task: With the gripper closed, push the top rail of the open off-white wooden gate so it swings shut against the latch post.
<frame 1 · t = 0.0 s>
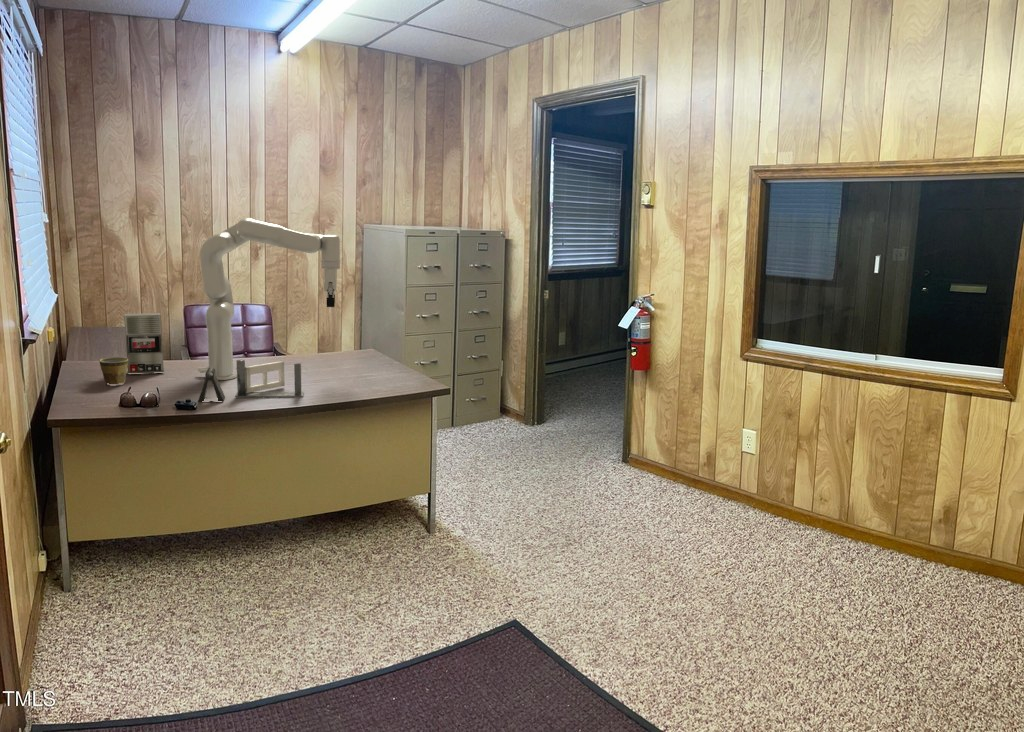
hand: (330, 305, 325), 31 cm above the table, tool pointing down, fingers open, 9 cm apart
gate frame: (241, 395, 296), on the table
ceramic cup: (113, 384, 304), on the table
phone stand: (211, 401, 288), on the table
cassette tape recorder: (146, 373, 323), on the table
gate: (264, 376, 303), point 6 cm above the table, hinge at 40.0°
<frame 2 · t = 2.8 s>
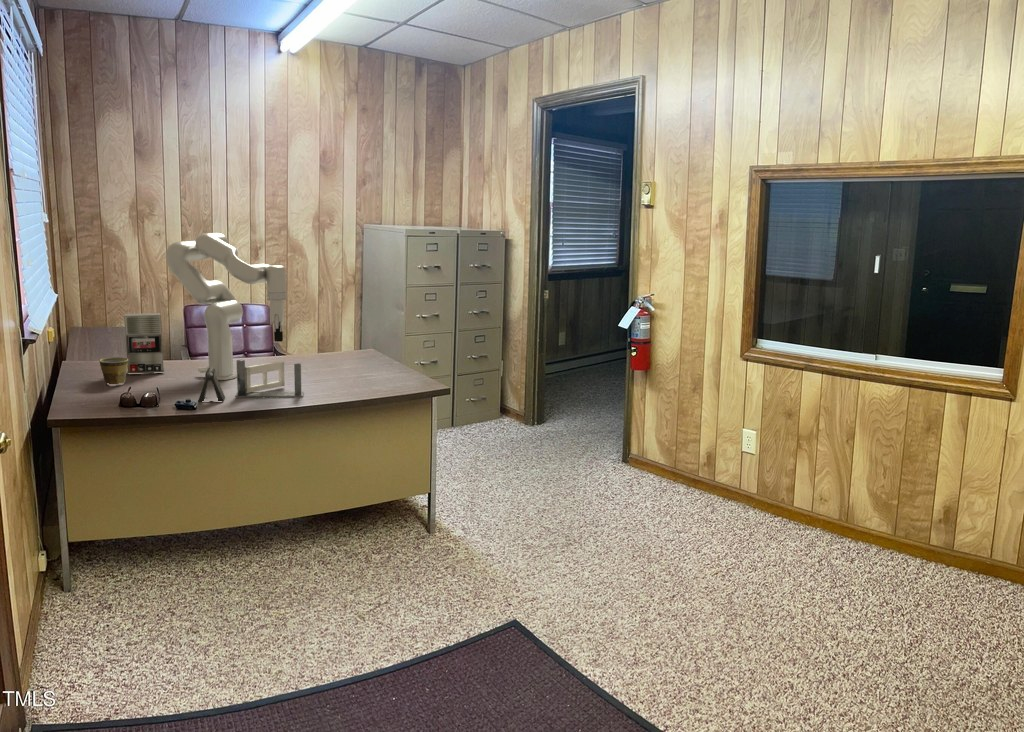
hand: (278, 341, 312), 18 cm above the table, tool pointing down, fingers closed
nothing on the table moved.
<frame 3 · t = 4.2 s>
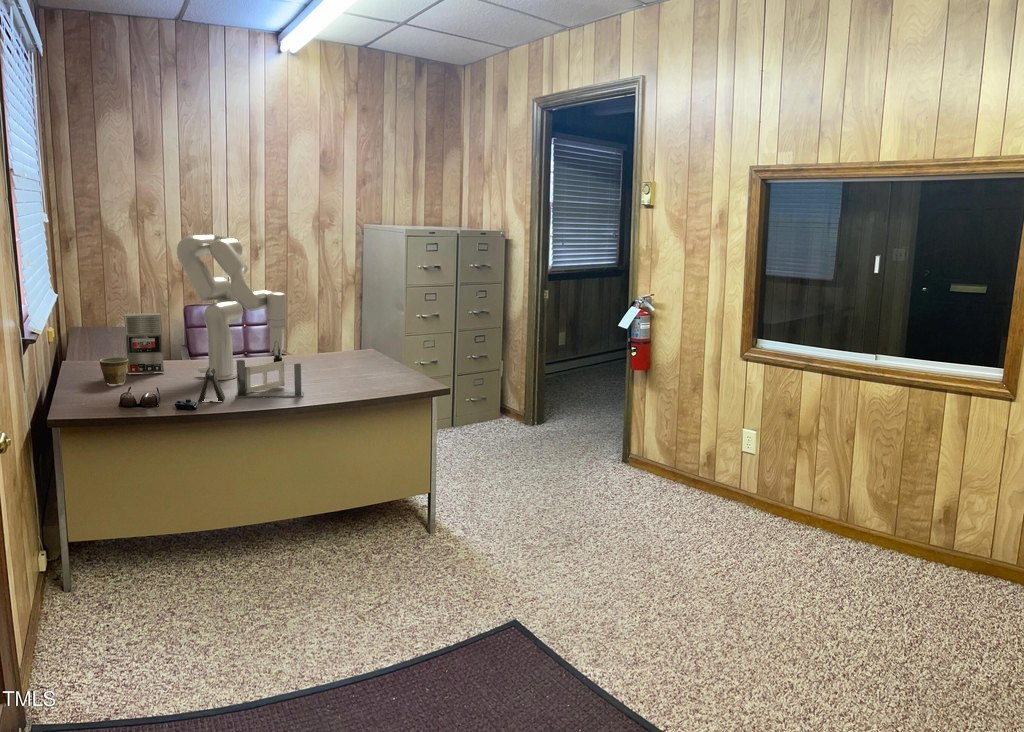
hand: (278, 367, 314), 7 cm above the table, tool pointing down, fingers closed
nothing on the table moved.
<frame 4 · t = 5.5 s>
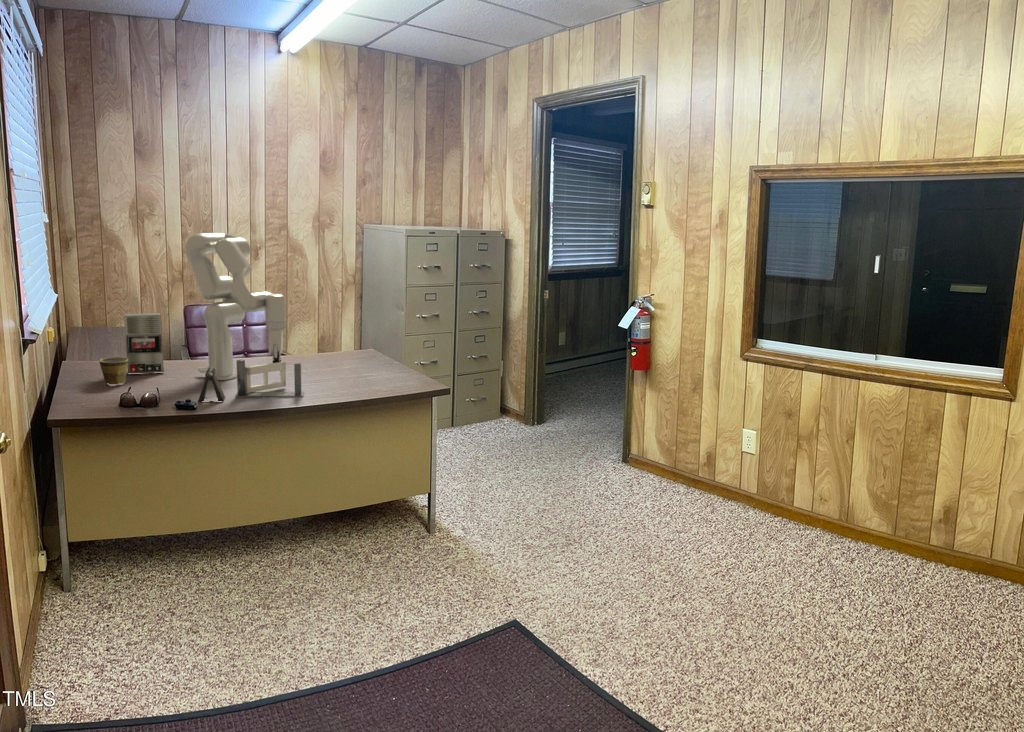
hand: (277, 370, 309), 7 cm above the table, tool pointing down, fingers closed
gate: (265, 376, 302), point 6 cm above the table, hinge at 36.9°
everything else where it was.
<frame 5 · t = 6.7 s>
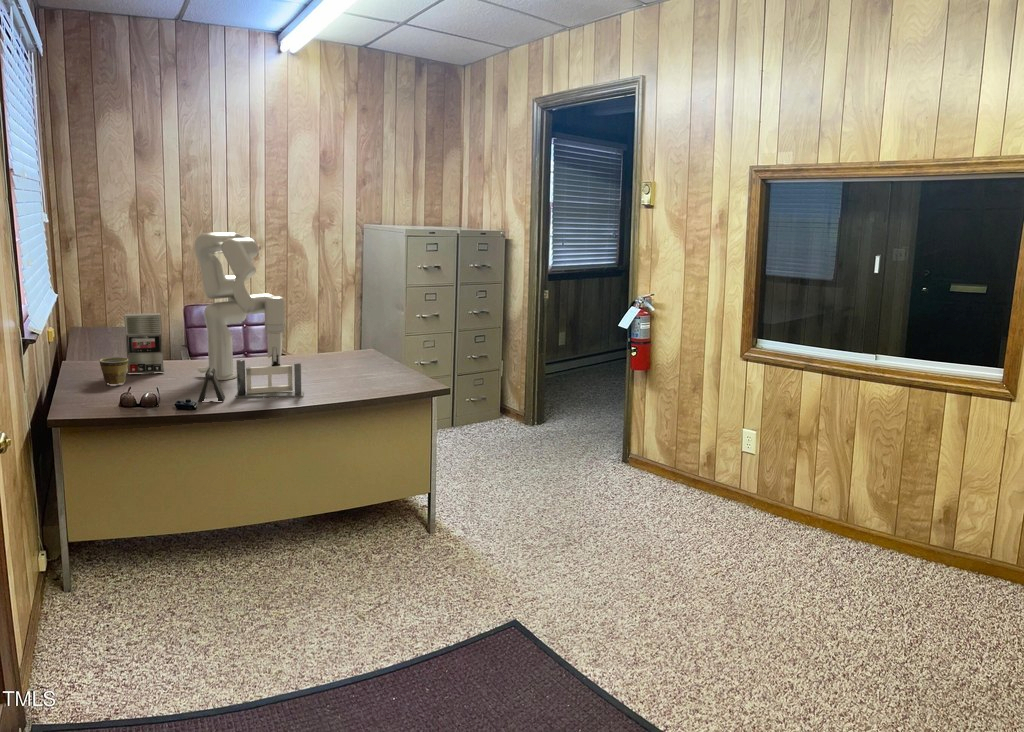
hand: (276, 373, 303), 7 cm above the table, tool pointing down, fingers closed
gate: (269, 379, 299), point 6 cm above the table, hinge at 13.4°, touching gripper
everything else where it was.
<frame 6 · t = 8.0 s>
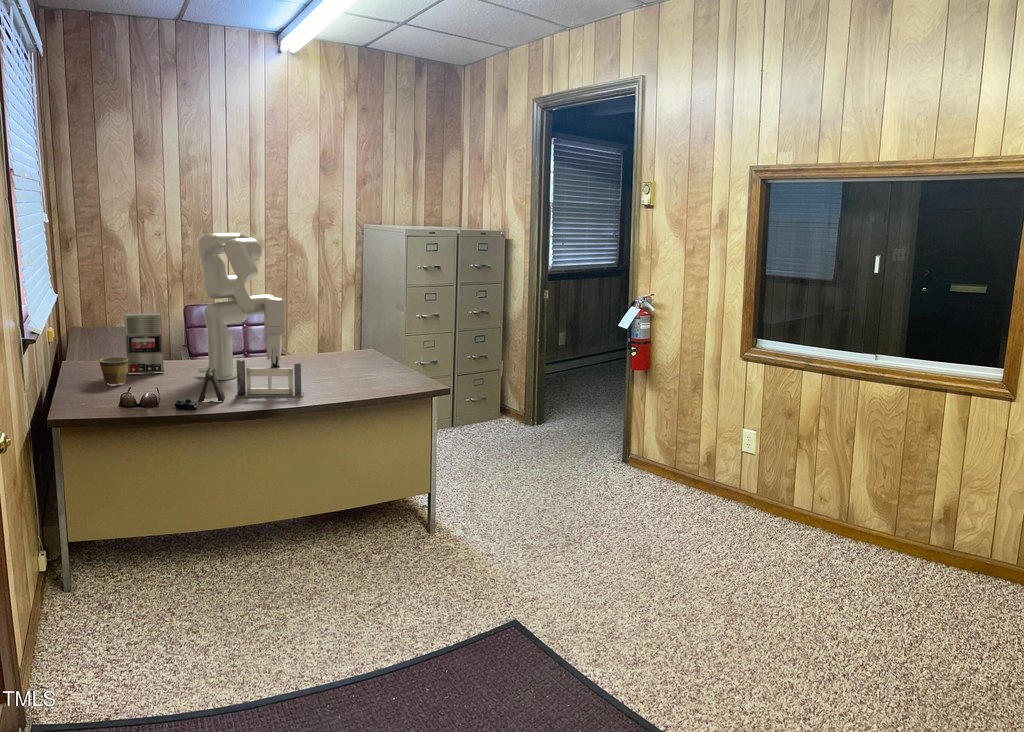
hand: (275, 375, 300), 7 cm above the table, tool pointing down, fingers closed
gate: (269, 380, 296), point 6 cm above the table, hinge at -1.1°, touching gripper
everything else where it was.
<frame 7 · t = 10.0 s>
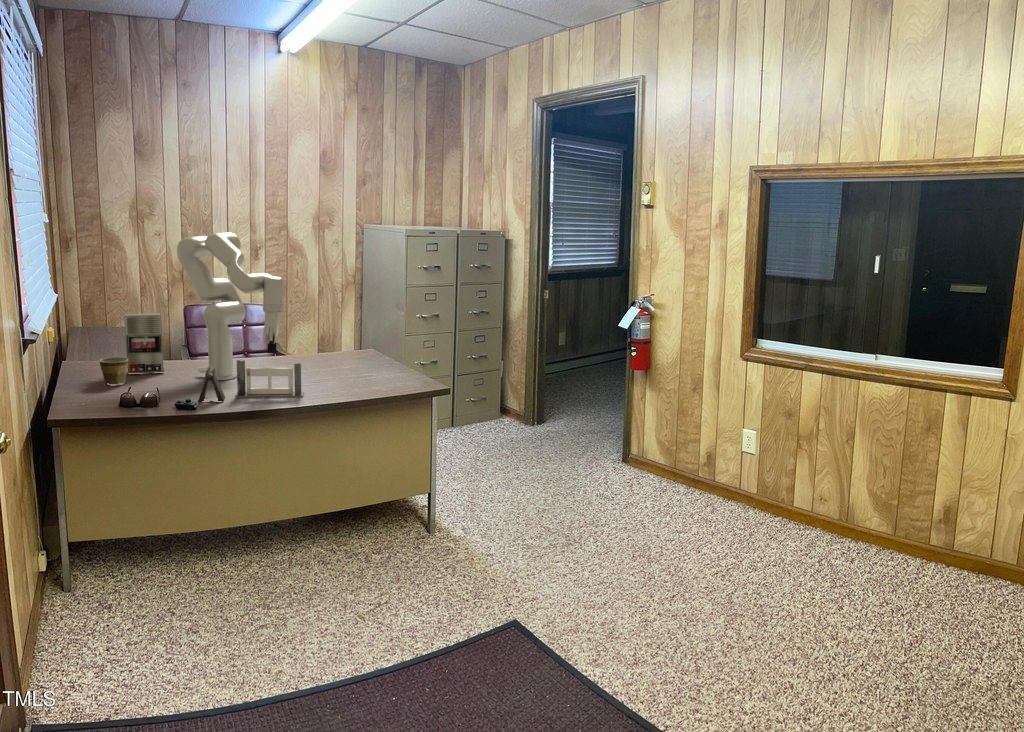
hand: (271, 352, 308), 14 cm above the table, tool pointing down, fingers closed
gate: (269, 380, 297), point 6 cm above the table, hinge at -0.5°
everything else where it was.
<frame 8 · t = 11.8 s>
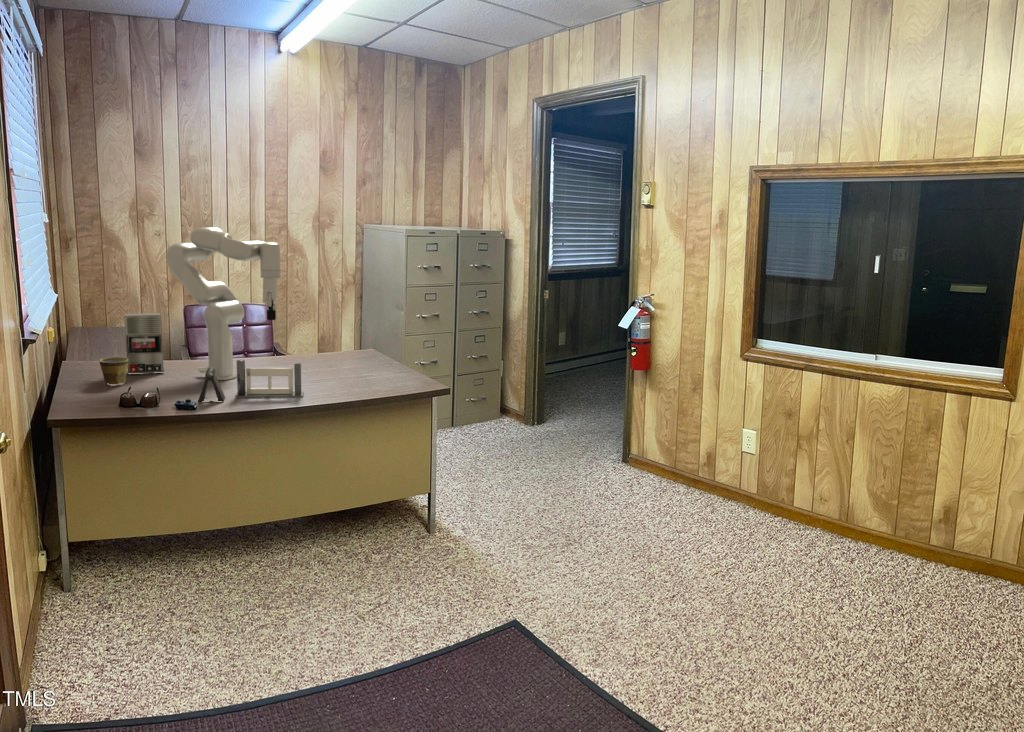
hand: (271, 319, 308), 27 cm above the table, tool pointing down, fingers closed
nothing on the table moved.
at the end: gate at +0° (first picture: +40°); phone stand moved 0.3 cm from its start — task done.
